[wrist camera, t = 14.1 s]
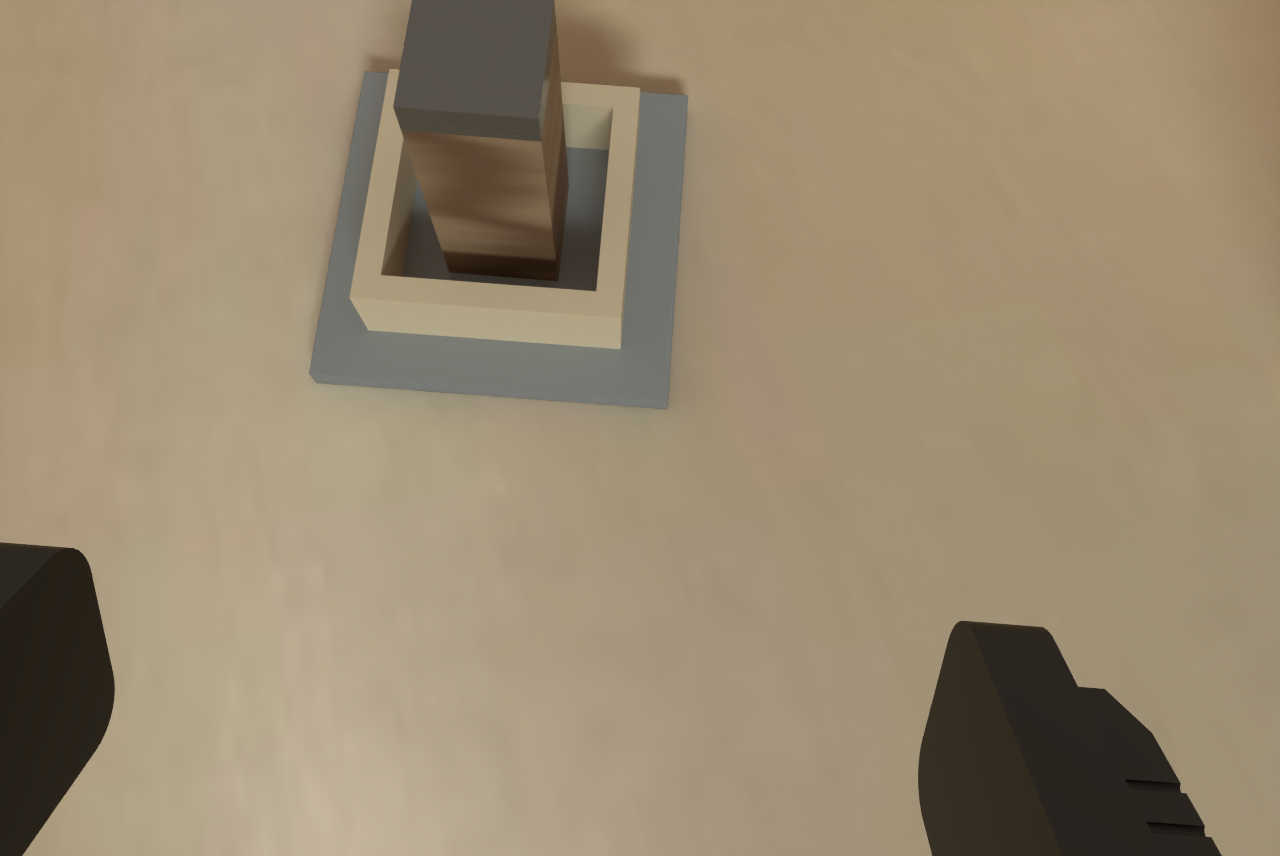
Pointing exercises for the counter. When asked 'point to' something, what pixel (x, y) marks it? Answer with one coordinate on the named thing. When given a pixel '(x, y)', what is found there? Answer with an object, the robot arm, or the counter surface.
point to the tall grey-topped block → (487, 132)
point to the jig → (503, 306)
